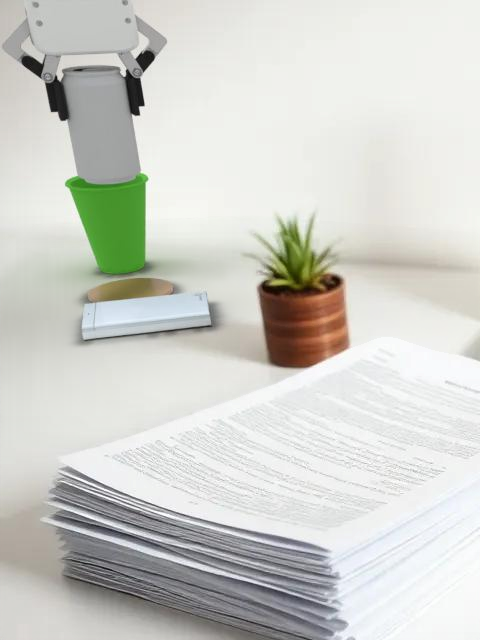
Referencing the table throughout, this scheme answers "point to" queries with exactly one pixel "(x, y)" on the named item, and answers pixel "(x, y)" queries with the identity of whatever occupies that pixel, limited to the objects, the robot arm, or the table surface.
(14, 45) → the robot arm
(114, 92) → the beverage can
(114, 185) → the cup
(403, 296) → the table surface
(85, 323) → the hard drive
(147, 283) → the coaster
